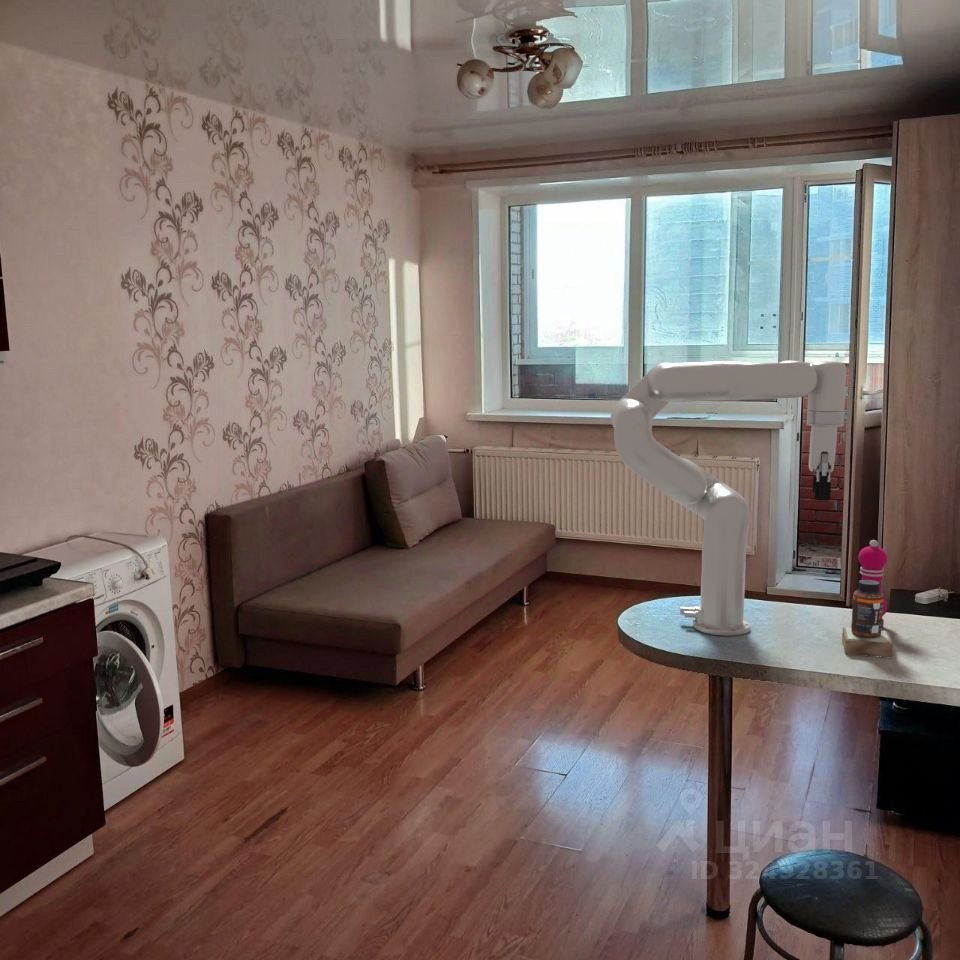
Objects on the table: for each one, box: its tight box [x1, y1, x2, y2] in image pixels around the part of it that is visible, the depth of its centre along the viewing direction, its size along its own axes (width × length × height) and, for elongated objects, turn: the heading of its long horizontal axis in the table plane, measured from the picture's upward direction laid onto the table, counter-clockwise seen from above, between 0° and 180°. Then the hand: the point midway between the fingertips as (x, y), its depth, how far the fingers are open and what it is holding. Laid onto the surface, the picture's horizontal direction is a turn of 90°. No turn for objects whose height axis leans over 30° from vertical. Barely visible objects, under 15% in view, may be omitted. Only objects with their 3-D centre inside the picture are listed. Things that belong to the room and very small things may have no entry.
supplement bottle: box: [850, 579, 885, 638], centre depth 202 cm, size 6×6×11 cm
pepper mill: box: [857, 539, 888, 629], centre depth 218 cm, size 7×7×20 cm
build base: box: [841, 627, 894, 658], centre depth 203 cm, size 9×9×3 cm
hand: (820, 496), depth 212 cm, fingers open, 9 cm apart
